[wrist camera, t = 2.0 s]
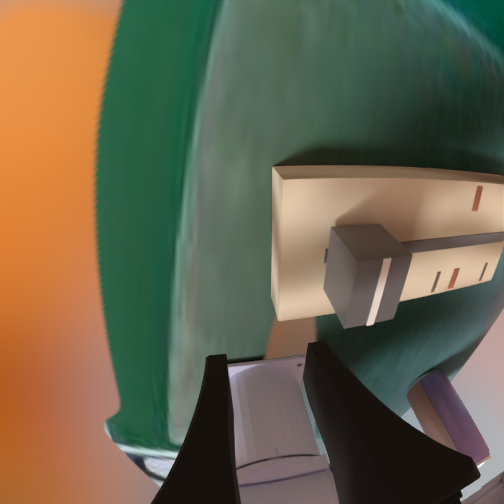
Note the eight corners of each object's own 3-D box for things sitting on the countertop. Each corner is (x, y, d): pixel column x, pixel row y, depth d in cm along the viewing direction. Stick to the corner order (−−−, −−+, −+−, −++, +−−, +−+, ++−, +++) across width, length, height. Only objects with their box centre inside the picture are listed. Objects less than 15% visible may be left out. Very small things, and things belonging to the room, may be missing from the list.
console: (475, 265, 23) (491, 280, 21) (270, 296, 21) (278, 322, 19) (500, 175, 19) (521, 186, 16) (272, 166, 16) (283, 180, 14)
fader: (368, 282, 18) (393, 320, 15) (323, 289, 18) (344, 330, 15) (379, 223, 16) (413, 255, 13) (330, 226, 16) (359, 262, 13)
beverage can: (436, 362, 31) (491, 456, 18) (446, 373, 33) (493, 456, 21) (398, 390, 32) (444, 487, 20) (412, 399, 35) (453, 483, 22)
